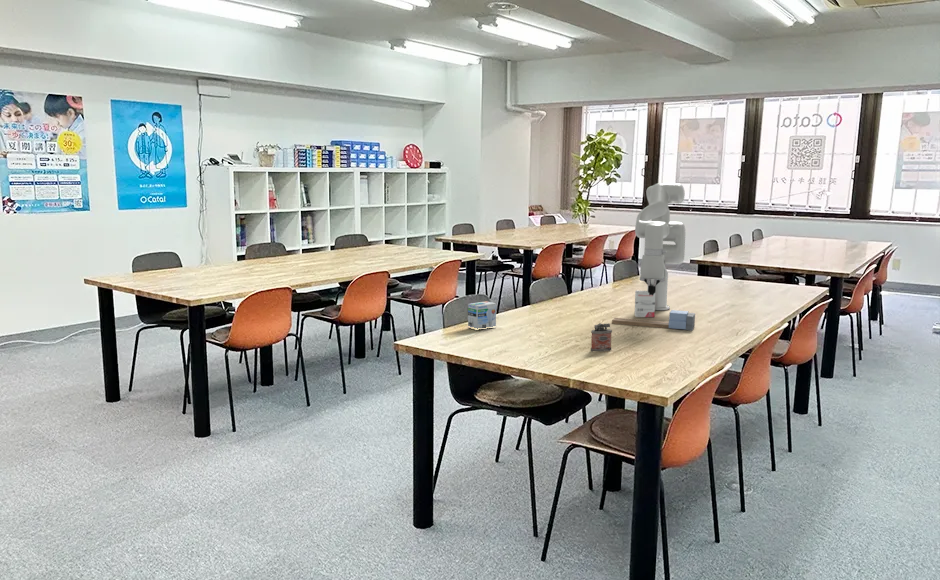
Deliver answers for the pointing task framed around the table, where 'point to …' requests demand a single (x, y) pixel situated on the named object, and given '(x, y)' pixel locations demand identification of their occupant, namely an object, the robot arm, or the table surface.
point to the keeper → (678, 319)
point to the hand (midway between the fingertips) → (651, 294)
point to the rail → (655, 322)
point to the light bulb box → (482, 314)
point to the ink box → (644, 304)
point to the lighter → (601, 338)
